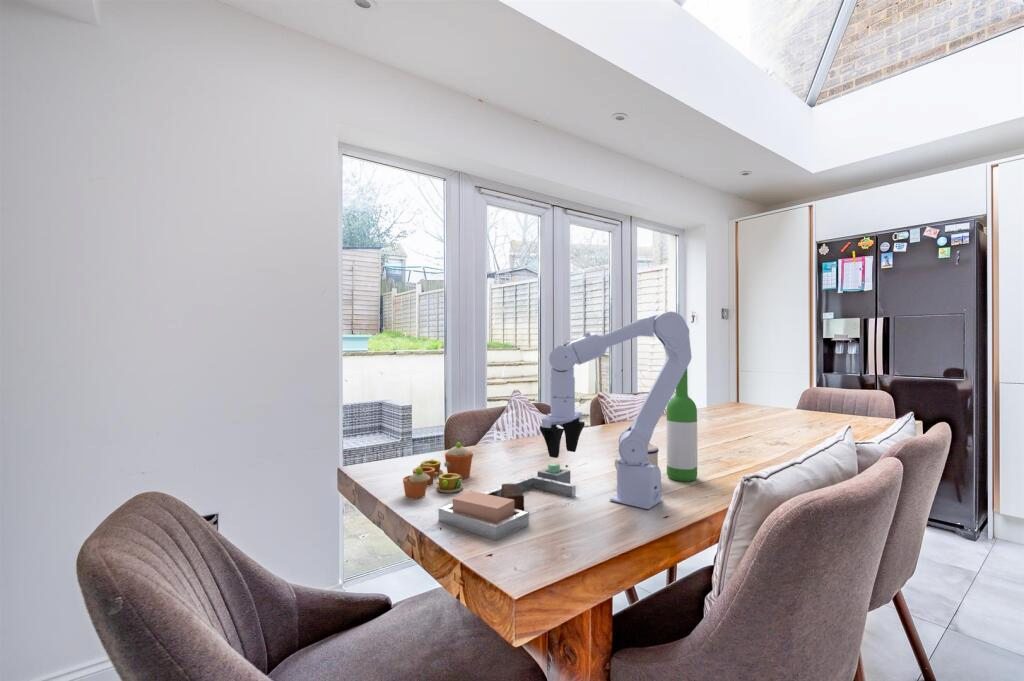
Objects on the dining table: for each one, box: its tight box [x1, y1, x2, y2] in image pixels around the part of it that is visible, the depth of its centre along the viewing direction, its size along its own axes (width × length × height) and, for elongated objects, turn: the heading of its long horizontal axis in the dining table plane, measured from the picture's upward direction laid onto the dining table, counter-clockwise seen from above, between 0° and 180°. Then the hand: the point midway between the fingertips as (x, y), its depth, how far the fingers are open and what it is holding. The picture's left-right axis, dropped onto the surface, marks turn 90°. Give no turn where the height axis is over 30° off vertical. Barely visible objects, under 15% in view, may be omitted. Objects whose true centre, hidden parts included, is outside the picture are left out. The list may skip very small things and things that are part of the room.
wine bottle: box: [666, 367, 698, 482], centre depth 128 cm, size 8×8×30 cm
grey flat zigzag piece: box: [438, 475, 577, 542], centre depth 105 cm, size 16×31×2 cm, turn 140°
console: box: [537, 467, 571, 484], centre depth 122 cm, size 6×6×4 cm
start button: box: [547, 462, 561, 474], centre depth 122 cm, size 3×3×4 cm
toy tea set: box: [402, 441, 474, 500], centre depth 123 cm, size 26×16×10 cm, turn 177°
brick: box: [501, 483, 525, 511], centre depth 105 cm, size 11×4×5 cm, turn 7°
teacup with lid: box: [614, 442, 660, 471], centre depth 125 cm, size 12×9×12 cm
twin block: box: [452, 490, 514, 523], centre depth 97 cm, size 6×11×5 cm, turn 57°
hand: (562, 454), depth 114 cm, fingers open, 7 cm apart
